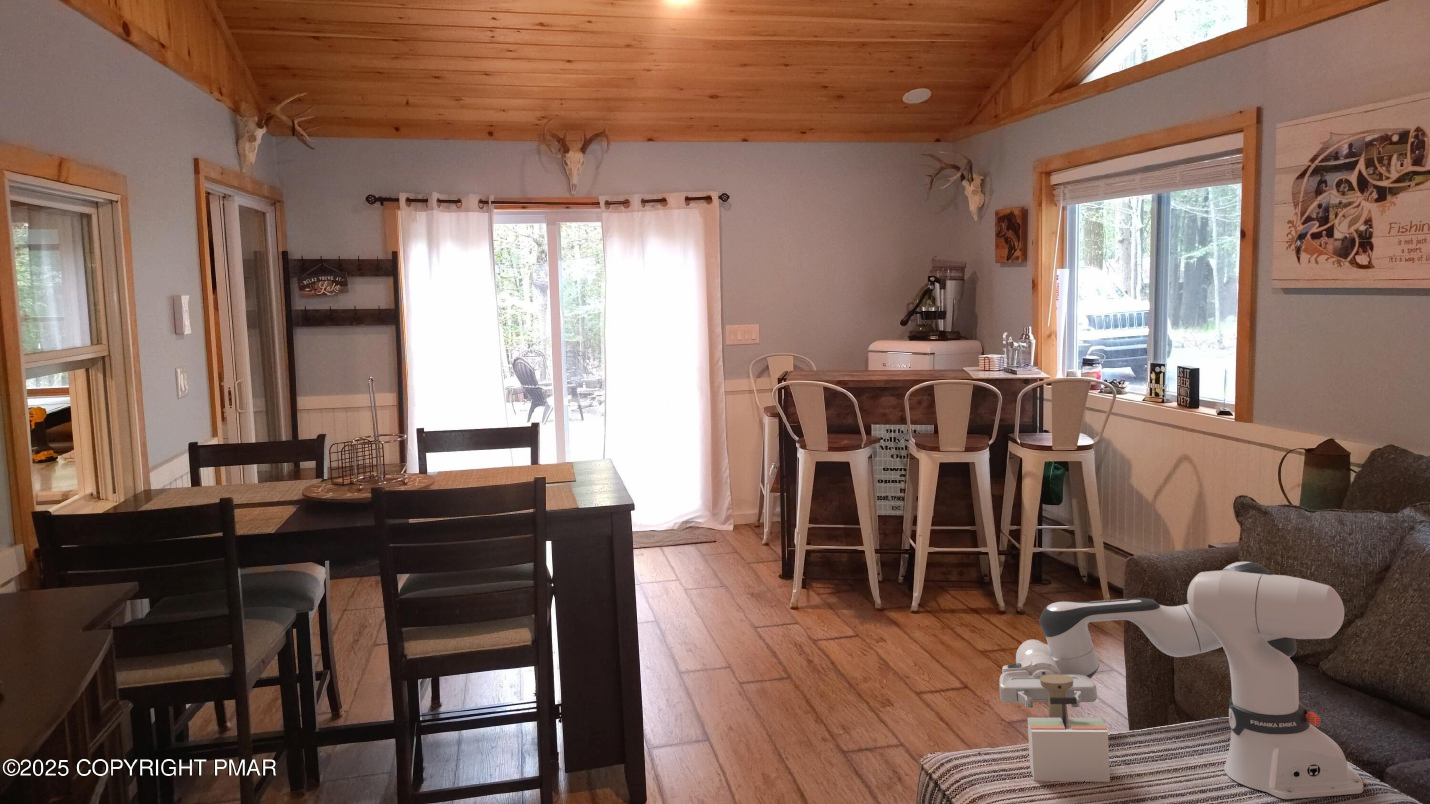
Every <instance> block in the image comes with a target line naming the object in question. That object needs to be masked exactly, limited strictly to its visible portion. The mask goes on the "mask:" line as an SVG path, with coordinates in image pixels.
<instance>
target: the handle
mask: <svg viewBox="0 0 1430 804" xmlns="http://www.w3.org/2000/svg"><path fill="white" fill-rule="evenodd" d="M1040 684H1041V685H1042V686H1043V687H1044V688H1046V689H1048V693H1049V702H1048V710H1047V711H1048V713H1047V716H1048V717H1047V718H1061V719H1062V704H1050V697H1066V690H1067V689H1069V688H1071V687H1072V686H1073V678H1072V677H1070V676H1068V675H1059V674H1054V675H1045V676H1041V677H1040ZM1067 706H1068V704H1065V711H1066V722H1067V718H1069V716H1068V715H1069V714H1068V713H1069V712H1068V707H1067Z"/></svg>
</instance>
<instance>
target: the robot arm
mask: <svg viewBox="0 0 1430 804" xmlns="http://www.w3.org/2000/svg"><path fill="white" fill-rule="evenodd" d="M1186 594H1187V595H1186V599H1187V603H1185V604H1180V605H1174V606H1168V605H1167V606H1166V605H1163V604H1159V603H1158V602H1157V601H1156V600H1155V599H1153V598H1146V597H1131V598H1127V597H1126V598H1117V599H1116V598H1115V599H1114V598H1113V599H1101V600H1089V601H1087V600H1086V601H1073V600H1072V601H1057V602H1052V603H1050V604H1048V605H1046V606H1045V607H1044V609H1043V610H1042V612H1041V614H1040V617H1039V620H1038V622H1039V625H1040V627H1041V630H1042V632H1043V635H1044V637H1045V639H1046V643H1047V644H1046V643H1045V642H1043V641H1040V640H1039V639H1027V640H1025V641H1023V642H1022V643H1021V644H1020V645H1019V646H1018V648H1017V650H1016V654H1015V663H1013V664H1012V663H1011V664H1006V665H1003V666H1002V669H1001V674H1000V677H999V698H1000V702H1003V703H1005V704H1008V703H1011V704H1012V703H1015V704H1017V703H1020V704H1022V705H1024V706H1025V708H1033V707H1034V705H1033V703H1049V693H1048V689H1046V688H1044V687H1043V686H1042V685H1041V684H1040V677H1041V676H1045V675H1054V674H1059V675H1068V676H1070V677H1072V678H1073V686H1072V687H1071V688H1069V689H1067V690H1066V697H1076V698H1077V704H1070V706H1071V708H1079V707H1080V704H1081V703H1094V702H1095V701H1096V700H1098V699H1097V697H1098V695H1097V685H1096V684H1095V682H1094V681H1093V680H1092V678H1093V677H1094V676H1095V674H1096V673H1097V671H1098V670H1099V668H1100V663H1099V659H1098V656H1097V652H1096V649H1095V646H1094V644H1093V640H1092V637H1091V634H1090V631H1089V627H1088V624H1090V623H1095V622H1107V621H1108V622H1109V621H1119V620H1120V621H1129V622H1131V623H1133V624H1134V625H1136V626H1137V627H1139V628H1140V630H1141V631H1142V632H1143V633H1144V635H1145V636H1146V637H1147V638H1148V639H1149V641H1150V642H1151V643H1152V644H1153V645H1154V646H1155V647H1156V649H1158V650H1159V651H1160V652H1162V653H1163V654H1165V655H1167V656H1170V657H1173V658H1183V657H1184V658H1185V657H1191V656H1194V655H1199V654H1203V653H1207V652H1211V651H1214V650H1217V649H1220V648H1223V651H1224V652H1225V655H1226V657H1227V661H1228V666H1229V674H1230V683H1231V697H1230V698H1229V707H1228V722H1229V727H1230V731H1231V732H1230V740H1229V749H1228V753H1227V757H1226V760H1225V763H1224V767H1223V768H1224V772H1225V773H1226V775H1227V776H1228V777H1229V778H1230V779H1232V780H1233V781H1235V782H1237V783H1239V784H1240V785H1243V786H1246V787H1248V788H1250V789H1254V790H1259V791H1262V792H1266V793H1267V794H1269V795H1272V796H1274V797H1277V798H1279V799H1283V800H1292V799H1293V800H1295V799H1305V798H1307V799H1308V798H1317V797H1319V798H1320V797H1331V796H1332V797H1333V796H1343V795H1355V794H1357V795H1358V794H1362V793H1363V792H1364V782H1363V780H1362V778H1361V776H1360V775H1359V774H1358V772H1357V771H1356V770H1355V769H1354V768H1353V767H1352V766H1350V765H1349V763H1348V762H1347V758H1346V756H1345V754H1344V751H1343V750H1342V748H1341V747H1340V746H1339V745H1338V743H1337V742H1336V741H1334V739H1332V738H1331V737H1330V736H1328V735H1327V734H1326V733H1324V732H1323V731H1322V730H1320V729H1318V728H1317V726H1319V725H1320V724H1321V723H1322V722H1321V721H1322V720H1321V717H1320V716H1319V715H1317V713H1316V712H1314V711H1311V710H1310V708H1309V707H1307V706H1305V705H1304V704H1302V703H1301V702H1300V699H1299V698H1300V697H1299V672H1298V669H1297V666H1296V664H1295V663H1294V662H1293V660H1292V659H1291V657H1294V655H1295V654H1296V653H1297V651H1298V650H1297V649H1298V648H1297V641H1296V639H1297V640H1319V639H1320V640H1322V639H1330V638H1332V637H1333V636H1335V635H1336V634H1337V632H1339V630H1340V629H1341V627H1342V625H1343V624H1344V623H1343V622H1344V620H1345V619H1344V618H1345V606H1344V603H1343V600H1342V598H1341V596H1340V595H1339V593H1338V592H1337V590H1335V588H1333V587H1332V586H1331V585H1328V584H1324V583H1322V582H1317V581H1313V580H1310V579H1309V580H1308V579H1306V578H1305V579H1304V578H1301V577H1295V576H1291V575H1285V574H1283V575H1282V574H1276V573H1275V572H1274V571H1269V570H1268V569H1267V568H1266V567H1265V566H1264V565H1262V564H1260V563H1258V562H1255V561H1253V562H1252V561H1235V562H1232V563H1231V564H1230V563H1229V564H1228V565H1227V566H1225V567H1224V568H1223V569H1221V570H1211V571H1201V572H1199V573H1198V574H1196V575H1195V576H1194V577H1193V579H1192V580H1191V581H1190V583H1189V585H1188V588H1187V593H1186Z"/></svg>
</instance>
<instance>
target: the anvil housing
mask: <svg viewBox="0 0 1430 804" xmlns="http://www.w3.org/2000/svg"><path fill="white" fill-rule="evenodd" d="M1067 722H1068V729H1065V726H1064V724H1063V721H1062V719H1061V718H1048V717H1027V733H1028V755H1029V757H1028V759H1029V767H1030V771H1031V775H1032V778H1033V781H1034V782H1083V783H1084V781H1085V782H1087V783H1088V782H1090V783H1091V782H1093V783H1094V782H1095V783H1097V782H1098V783H1101V782H1102V783H1110V782H1111V778H1110V777H1111V776H1110V754H1109V753H1110V751H1109V747H1110V746H1109V732H1108V731H1109V730H1108V729H1107V726H1106V724H1105V722H1104V721H1103V718H1102V717H1068V718H1067Z"/></svg>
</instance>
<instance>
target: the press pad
mask: <svg viewBox="0 0 1430 804" xmlns="http://www.w3.org/2000/svg"><path fill="white" fill-rule="evenodd" d="M1050 704H1062V721H1063V724H1064V726H1065V729H1068V722H1066V711H1065V704H1067V705H1071V704H1077V698H1076V697H1050Z"/></svg>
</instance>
